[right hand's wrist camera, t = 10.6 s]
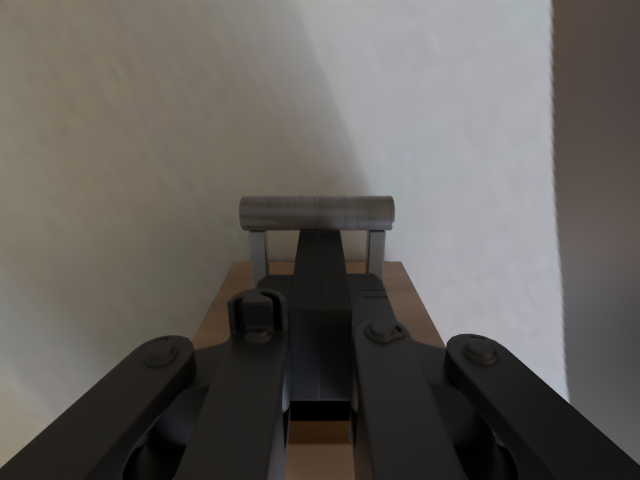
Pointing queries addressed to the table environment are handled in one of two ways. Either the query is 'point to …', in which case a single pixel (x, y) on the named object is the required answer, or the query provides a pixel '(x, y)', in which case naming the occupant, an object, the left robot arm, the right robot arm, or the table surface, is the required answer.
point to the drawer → (294, 216)
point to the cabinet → (319, 451)
